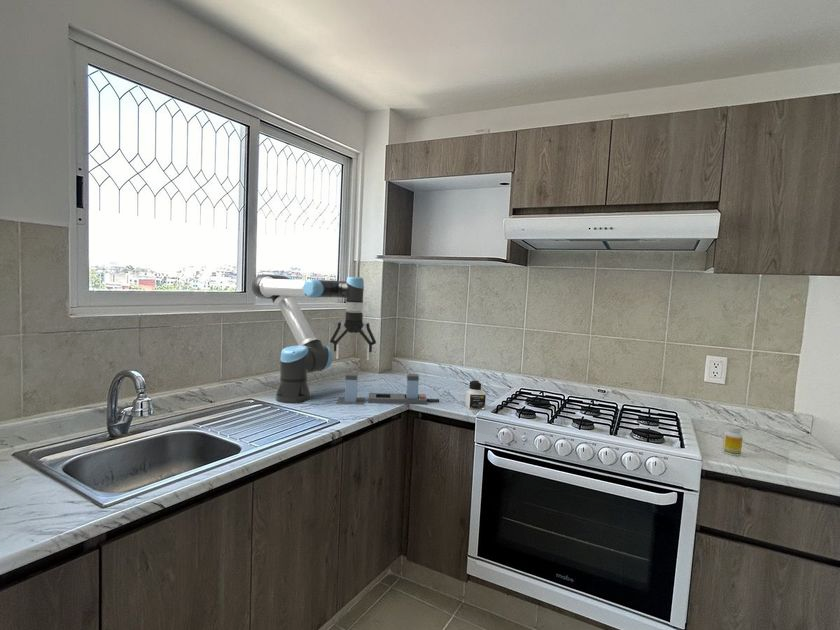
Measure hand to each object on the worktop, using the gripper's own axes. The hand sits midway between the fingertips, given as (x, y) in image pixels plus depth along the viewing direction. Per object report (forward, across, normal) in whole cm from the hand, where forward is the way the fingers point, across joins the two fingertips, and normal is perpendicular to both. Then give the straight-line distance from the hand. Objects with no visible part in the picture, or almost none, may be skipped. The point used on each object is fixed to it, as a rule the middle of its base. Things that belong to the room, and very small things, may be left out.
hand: (352, 359), depth 200 cm
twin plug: (+18, +27, 0) cm, 33 cm away
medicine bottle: (+20, +56, -4) cm, 59 cm away
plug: (+19, 0, 0) cm, 19 cm away
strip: (+19, +24, 0) cm, 31 cm away
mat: (+19, 0, 0) cm, 19 cm away
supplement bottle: (+20, +138, -54) cm, 149 cm away
